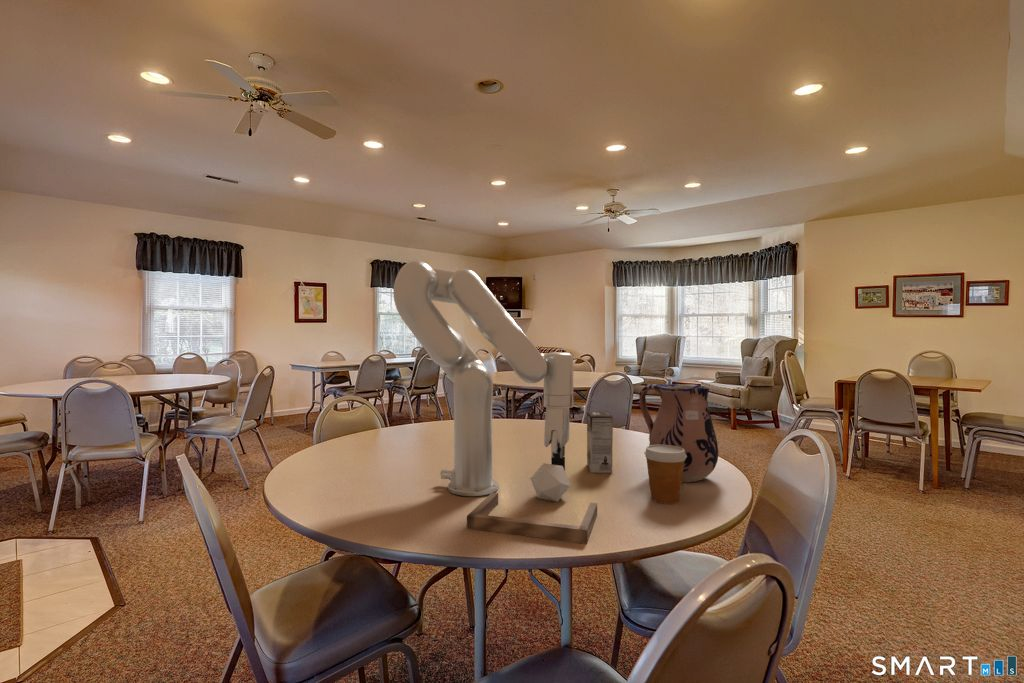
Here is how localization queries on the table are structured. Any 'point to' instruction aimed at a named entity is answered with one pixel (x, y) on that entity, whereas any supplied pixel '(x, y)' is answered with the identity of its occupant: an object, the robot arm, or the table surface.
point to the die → (550, 482)
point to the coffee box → (599, 441)
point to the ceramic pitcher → (684, 426)
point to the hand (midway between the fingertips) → (558, 472)
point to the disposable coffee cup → (665, 472)
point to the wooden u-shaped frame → (530, 523)
